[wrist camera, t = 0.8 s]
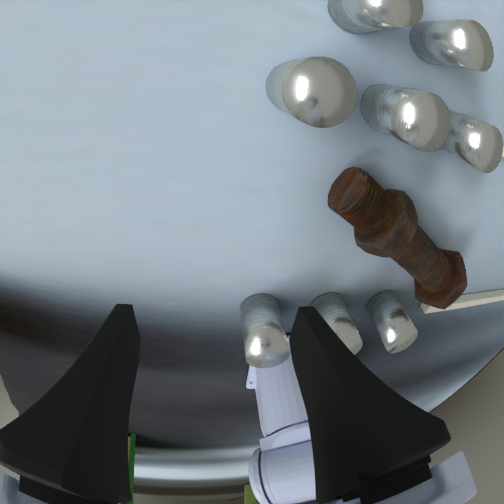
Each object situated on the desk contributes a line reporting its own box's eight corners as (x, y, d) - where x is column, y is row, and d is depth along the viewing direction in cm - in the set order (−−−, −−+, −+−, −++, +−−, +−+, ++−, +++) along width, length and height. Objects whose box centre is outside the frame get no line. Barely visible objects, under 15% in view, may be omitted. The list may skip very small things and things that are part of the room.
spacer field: (387, 313, 27) (407, 350, 23) (238, 320, 24) (244, 369, 20) (470, 49, 12) (517, 57, 8) (279, -28, 10) (303, -60, 6)
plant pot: (263, 485, 83) (267, 509, 74) (234, 486, 79) (237, 511, 70) (276, 479, 77) (281, 506, 68) (245, 481, 74) (249, 509, 64)
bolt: (329, 158, 19) (428, 253, 25) (299, 219, 19) (410, 299, 24) (389, 145, 14) (476, 261, 19) (358, 223, 13) (458, 315, 19)
